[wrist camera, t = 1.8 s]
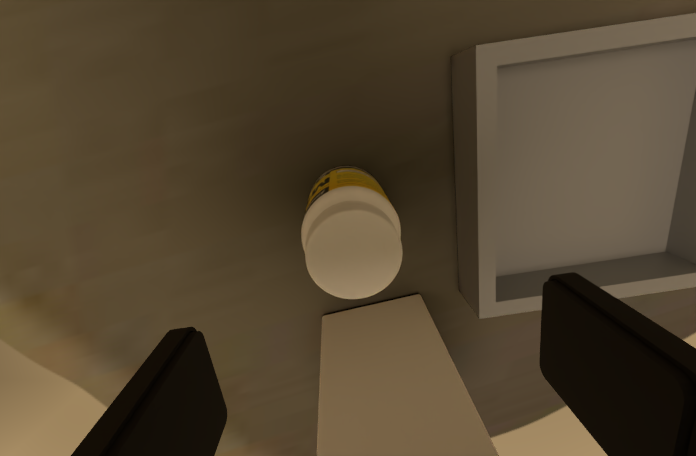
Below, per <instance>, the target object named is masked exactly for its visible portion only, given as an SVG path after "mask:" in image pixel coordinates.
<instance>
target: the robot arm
mask: <svg viewBox="0 0 696 456" xmlns="http://www.w3.org/2000/svg"><path fill="white" fill-rule="evenodd" d="M540 368H541V371H542V374H543V376H544V377H545V379H546V380H547V381H548V382H549V384H550V385H551V386H552V387H553V388H554V390H555V391H556V392H557V393H558V395H559V396H560V397H561V398H562V400H563V401H564V402H565V403H566V405H567V406H568V407H569V408H570V409H571V411H572V412H573V413H574V414H575V416H576V417H577V418H578V419H579V420H580V422H581V423H582V424H583V425H584V427H585V428H586V429H587V430H588V432H589V433H590V434H591V435H592V436H593V438H594V439H595V440H596V441H597V443H598V444H599V445H600V446H601V448H603V450H604V451H605V453H606V454H607V455H608V456H696V348H694V347H692V346H691V345H689V344H688V343H686V342H685V341H683V340H681V339H680V338H678V337H677V336H675V335H674V334H672V333H670V332H669V331H667V330H666V329H664V328H663V327H661V326H659V325H658V324H656V323H655V322H653V321H652V320H650V319H648V318H647V317H645V316H644V315H642V314H641V313H639V312H637V311H636V310H634V309H633V308H631V307H630V306H628V305H626V304H625V303H623V302H622V301H620V300H619V299H617V298H615V297H614V296H612V295H611V294H609V293H608V292H606V291H604V290H603V289H601V288H600V287H598V286H597V285H595V284H593V283H592V282H590V281H589V280H587V279H585V278H584V277H582V276H581V275H579V274H577V273H575V272H571V273H564V274H557V275H551V276H550V277H549V279H548V281H546V282H544V284H543V292H542V317H541V342H540ZM226 420H227V408H226V405H225V402H224V398H223V395H222V392H221V389H220V386H219V383H218V380H217V376H216V373H215V370H214V367H213V364H212V361H211V358H210V354H209V351H208V348H207V345H206V342H205V339H204V336H203V334H202V332H200V331H196V329H195V328H193V327H187V328H180V329H173V330H170V331H169V332H167V334H166V335H165V336H164V338H163V339H162V340H161V341H160V343H159V344H158V345H157V346H156V348H155V349H154V350H153V352H152V353H151V354H150V355H149V357H148V358H147V359H146V360H145V362H144V363H143V364H142V366H141V367H140V368H139V369H138V371H137V372H136V373H135V375H134V376H133V377H132V378H131V380H130V381H129V382H128V383H127V385H126V386H125V387H124V389H123V390H122V391H121V392H120V394H119V395H118V396H117V397H116V399H115V400H114V401H113V403H112V404H111V405H110V406H109V408H108V409H107V410H106V411H105V413H104V414H103V416H102V417H101V418H100V419H99V420H98V422H97V423H96V424H95V425H94V427H93V428H92V429H91V431H90V432H89V433H88V434H87V436H86V437H85V438H84V440H83V441H82V442H81V443H80V445H79V446H78V447H77V448H76V450H75V451H74V452H73V454H72V455H71V456H214V455H215V452H216V449H217V446H218V443H219V441H220V438H221V435H222V432H223V430H224V427H225V424H226Z"/></svg>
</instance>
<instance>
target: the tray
mask: <svg viewBox="0 0 696 456" xmlns="http://www.w3.org/2000/svg"><path fill="white" fill-rule="evenodd" d="M451 78H452V106H453V135H454V163H455V192H456V221H457V249H458V278H459V291H460V292H461V294H462V295H463V297H464V298H465V299H466V301H467V302H468V304H469V305H470V306H471V308H472V309H473V311H474V312H475V313H476V315H477V316H478V318H479V319H482V318H489V317H496V316H502V315H509V314H516V313H523V312H529V311H536V310H542V292H543V284H544V282H546V281H548V279H549V277H550V276H551V275H557V274H564V273H571V272H575V273H577V274H579V275H581V276H582V277H584V278H585V279H587V280H589V281H590V282H592V283H593V284H595V285H597V286H598V287H600V288H601V289H603V290H604V291H606V292H608V293H609V294H611V295H612V296H614V297H615V298H624V297H631V296H638V295H644V294H651V293H658V292H665V291H671V290H678V289H685V288H692V287H696V13H692V14H685V15H678V16H671V17H664V18H658V19H651V20H644V21H637V22H631V23H624V24H617V25H610V26H604V27H597V28H590V29H583V30H576V31H570V32H563V33H556V34H549V35H543V36H536V37H529V38H522V39H516V40H509V41H502V42H495V43H488V44H482V45H476V46H473V47H471V48H469V49H467V50H464V51H462V52H460V53H458V54H455V55H453V56H451Z"/></svg>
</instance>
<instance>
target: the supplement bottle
mask: <svg viewBox="0 0 696 456" xmlns="http://www.w3.org/2000/svg"><path fill="white" fill-rule="evenodd" d="M400 237H401V228H400V221H399V218H398V215H397V213H396V211H395V209H394V207H393V206H392V204H391V203H390V201H389V199H388V198H387V196H386V195H385V193H384V191H383V190H382V188H381V186H380V185H379V183H378V182H377V180H376V179H375V178H374V177H373V176H372V175H371V174H369V173H368V172H366V171H365V170H362V169H360V168H357V167H352V166H341V167H336V168H333V169H331V170H329V171H327V172H325V173H324V174H323V175H321V176H320V177H319V178H318V180H317V181H316V182H315V184H314V185H313V187H312V189H311V192H310V195H309V199H308V203H307V207H306V211H305V215H304V218H303V223H302V228H301V240H302V245H303V249H304V252H305V259H306V266H307V269H308V271H309V274H310V276H311V277H312V279H313V280H314V282H315V283H316V284H317V285H318V286H319V287H320V288H321V289H323V290H324V291H325V292H327V293H329V294H331V295H333V296H336V297H340V298H344V299H361V298H366V297H369V296H372V295H375V294H376V293H378V292H380V291H382V290H383V289H384V288H386V287H387V286H388V285H389V284H390V283H391V282H392V281H393V279H394V278H395V276H396V275H397V273H398V271H399V269H400V266H401V262H402V255H403V251H402V244H401V240H400Z"/></svg>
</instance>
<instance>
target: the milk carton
mask: <svg viewBox="0 0 696 456" xmlns="http://www.w3.org/2000/svg"><path fill="white" fill-rule="evenodd" d="M317 456H499V455H498V453H497V451H496V449H495V447H494V445H493V443H492V441H491V439H490V437H489V435H488V432H487V430H486V428H485V426H484V424H483V422H482V420H481V418H480V416H479V414H478V412H477V410H476V408H475V406H474V404H473V402H472V400H471V398H470V396H469V394H468V391H467V389H466V387H465V385H464V383H463V381H462V379H461V377H460V375H459V373H458V371H457V369H456V367H455V365H454V363H453V361H452V359H451V357H450V355H449V353H448V350H447V348H446V346H445V344H444V342H443V340H442V338H441V336H440V334H439V332H438V330H437V328H436V326H435V324H434V322H433V320H432V318H431V316H430V314H429V312H428V309H427V307H426V305H425V303H424V301H423V299H422V297H421V295H420V294H417V295H412V296H408V297H403V298H399V299H395V300H390V301H386V302H381V303H377V304H373V305H368V306H364V307H359V308H355V309H351V310H346V311H342V312H338V313H333V314H329V315H325V316H323V317H322V336H321V362H320V387H319V413H318V439H317Z"/></svg>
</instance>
